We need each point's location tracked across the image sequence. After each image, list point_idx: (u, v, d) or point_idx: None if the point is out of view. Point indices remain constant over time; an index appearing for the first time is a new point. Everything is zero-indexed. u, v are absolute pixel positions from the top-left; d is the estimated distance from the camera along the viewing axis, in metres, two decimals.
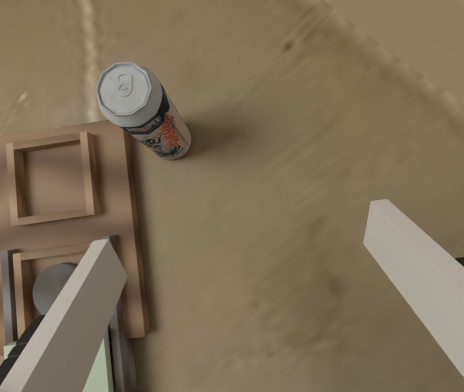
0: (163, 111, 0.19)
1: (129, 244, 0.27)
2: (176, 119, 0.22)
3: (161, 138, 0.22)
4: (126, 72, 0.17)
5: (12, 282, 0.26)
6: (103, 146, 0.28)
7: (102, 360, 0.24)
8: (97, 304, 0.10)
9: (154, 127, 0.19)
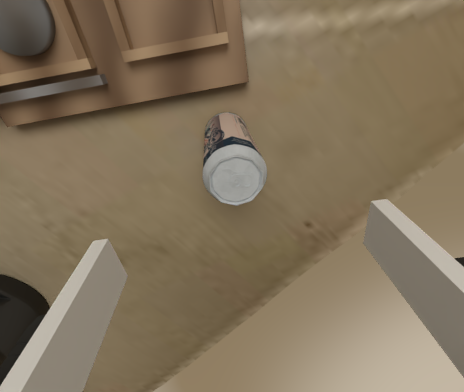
0: None
1: (102, 102, 0.24)
2: None
3: None
4: (253, 181, 0.18)
5: None
6: (213, 59, 0.23)
7: None
8: (97, 304, 0.10)
9: None
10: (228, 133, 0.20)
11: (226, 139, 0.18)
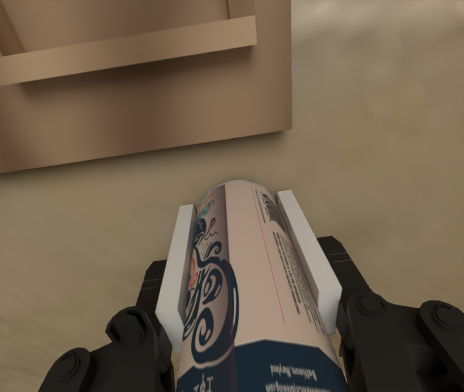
0: None
1: None
2: None
3: None
4: None
5: None
6: (217, 80, 0.10)
7: None
8: None
9: None
10: (250, 301, 0.07)
11: (247, 356, 0.06)
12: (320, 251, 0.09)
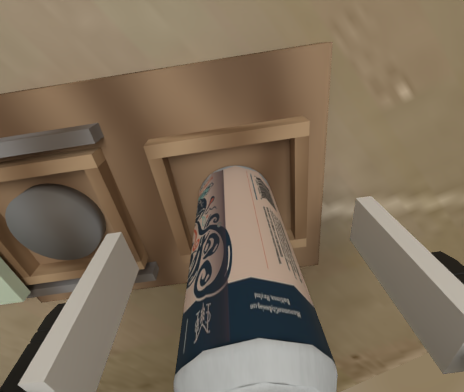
0: None
1: (149, 282, 0.21)
2: None
3: None
4: None
5: None
6: None
7: None
8: (112, 294, 0.11)
9: None
10: (241, 253, 0.09)
11: (237, 288, 0.07)
12: (448, 272, 0.08)
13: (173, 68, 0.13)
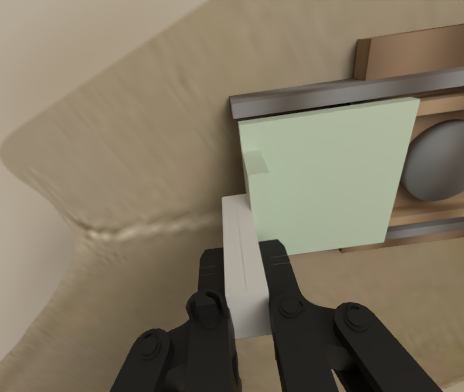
0: None
1: (455, 232, 0.21)
2: None
3: None
4: None
5: None
6: None
7: (350, 243, 0.18)
8: None
9: None
10: None
11: None
12: (258, 254, 0.10)
13: None
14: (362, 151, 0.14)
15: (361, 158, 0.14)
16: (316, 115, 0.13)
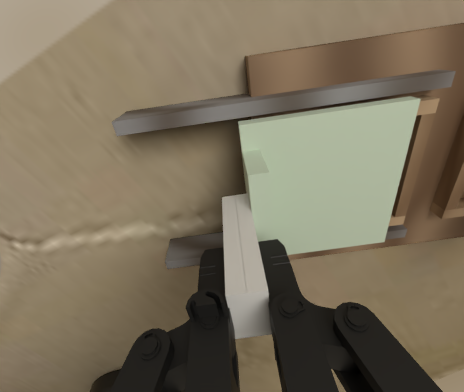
0: None
1: None
2: None
3: None
4: None
5: None
6: None
7: (350, 243, 0.18)
8: None
9: None
10: None
11: None
12: (258, 254, 0.10)
13: None
14: (362, 151, 0.14)
15: (361, 158, 0.14)
16: (316, 115, 0.13)
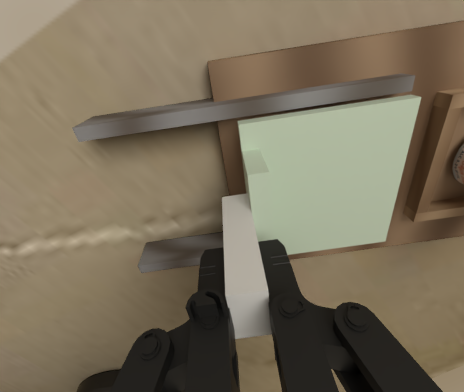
0: None
1: None
2: None
3: None
4: None
5: None
6: None
7: (351, 242, 0.18)
8: None
9: None
10: None
11: None
12: (258, 254, 0.10)
13: None
14: (363, 150, 0.14)
15: (362, 157, 0.14)
16: (316, 114, 0.13)
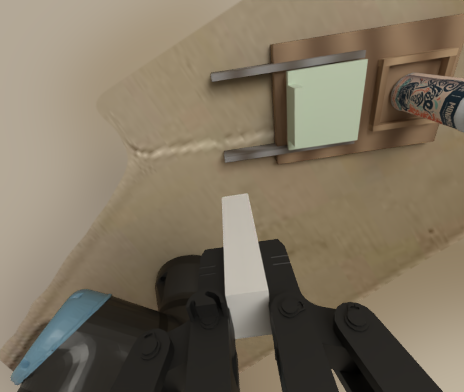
0: (453, 127, 0.26)
1: (341, 151, 0.38)
2: None
3: (427, 112, 0.28)
4: None
5: (336, 62, 0.30)
6: (418, 128, 0.36)
7: (339, 140, 0.34)
8: None
9: (443, 118, 0.26)
10: (462, 79, 0.26)
11: None
12: (258, 254, 0.10)
13: (403, 23, 0.30)
14: (343, 85, 0.31)
15: (343, 89, 0.31)
16: (322, 66, 0.29)
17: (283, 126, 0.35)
